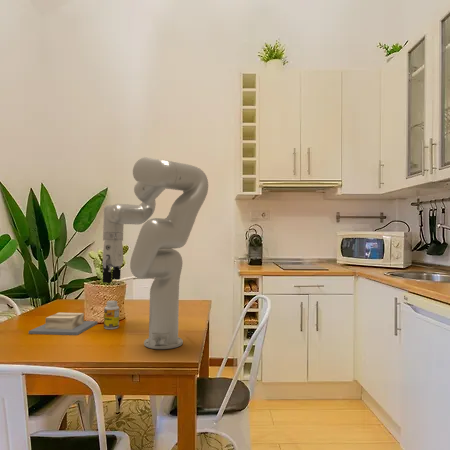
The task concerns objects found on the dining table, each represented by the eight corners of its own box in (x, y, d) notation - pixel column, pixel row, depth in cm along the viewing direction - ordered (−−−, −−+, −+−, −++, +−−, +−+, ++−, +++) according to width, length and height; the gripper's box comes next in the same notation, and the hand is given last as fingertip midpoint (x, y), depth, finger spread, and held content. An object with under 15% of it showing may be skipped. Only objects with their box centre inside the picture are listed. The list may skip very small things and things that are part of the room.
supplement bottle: (100, 328, 146) (101, 301, 146) (111, 325, 151) (112, 299, 151) (111, 330, 143) (111, 303, 143) (121, 327, 148) (122, 301, 148)
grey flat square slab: (77, 335, 135) (77, 332, 135) (28, 333, 136) (28, 330, 136) (97, 323, 153) (97, 321, 153) (54, 322, 154) (54, 320, 154)
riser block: (71, 329, 140) (71, 318, 140) (45, 328, 140) (45, 317, 140) (83, 323, 150) (83, 313, 150) (58, 322, 150) (59, 312, 150)
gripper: (114, 237, 139) (113, 284, 139) (129, 237, 156) (128, 278, 156) (94, 236, 140) (93, 283, 139) (111, 236, 157) (110, 278, 157)
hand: (111, 280), depth 148 cm, fingers open, 9 cm apart
